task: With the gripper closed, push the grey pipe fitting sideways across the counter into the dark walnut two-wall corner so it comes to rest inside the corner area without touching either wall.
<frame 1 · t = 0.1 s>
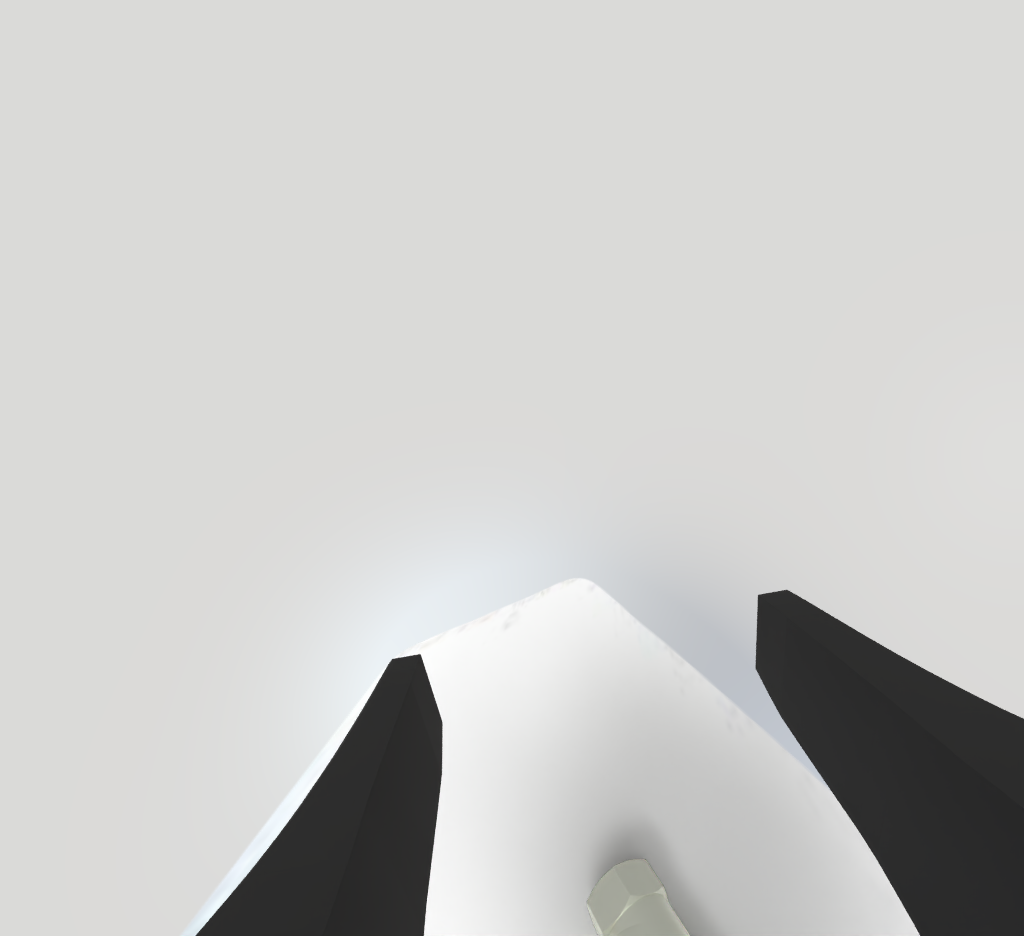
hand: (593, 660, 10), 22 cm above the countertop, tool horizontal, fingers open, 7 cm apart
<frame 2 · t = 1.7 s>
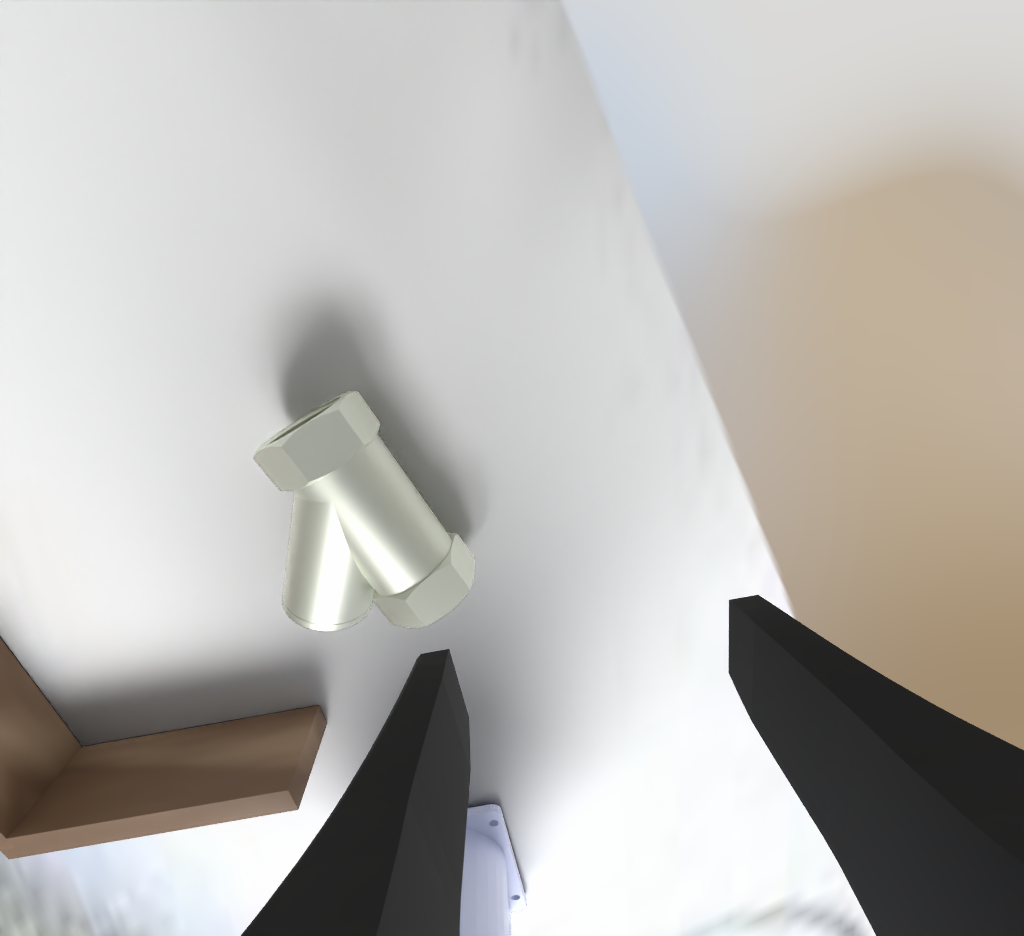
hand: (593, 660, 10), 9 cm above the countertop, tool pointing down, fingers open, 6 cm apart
pipe fitting: (352, 506, 20), on the countertop
corner arena: (76, 757, 23), on the countertop
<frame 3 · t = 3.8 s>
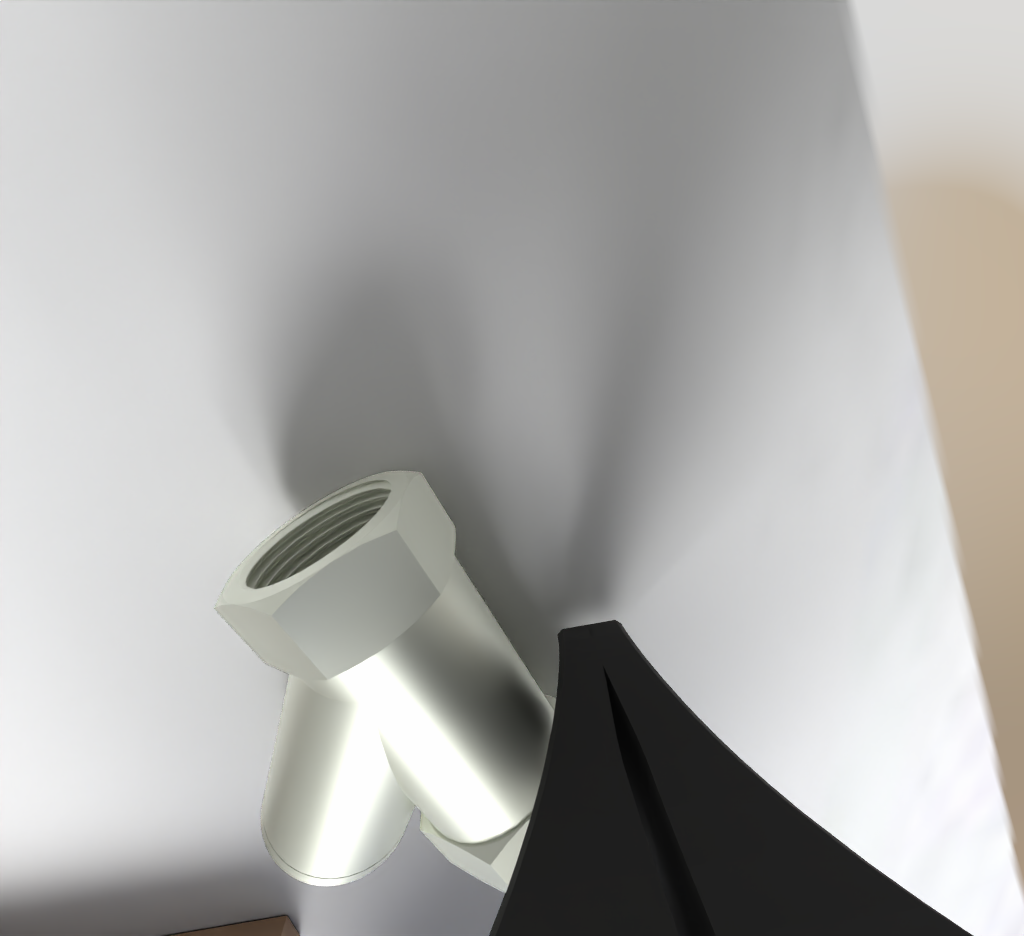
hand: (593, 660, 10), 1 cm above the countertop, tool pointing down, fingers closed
pipe fitting: (385, 639, 12), on the countertop, touching gripper
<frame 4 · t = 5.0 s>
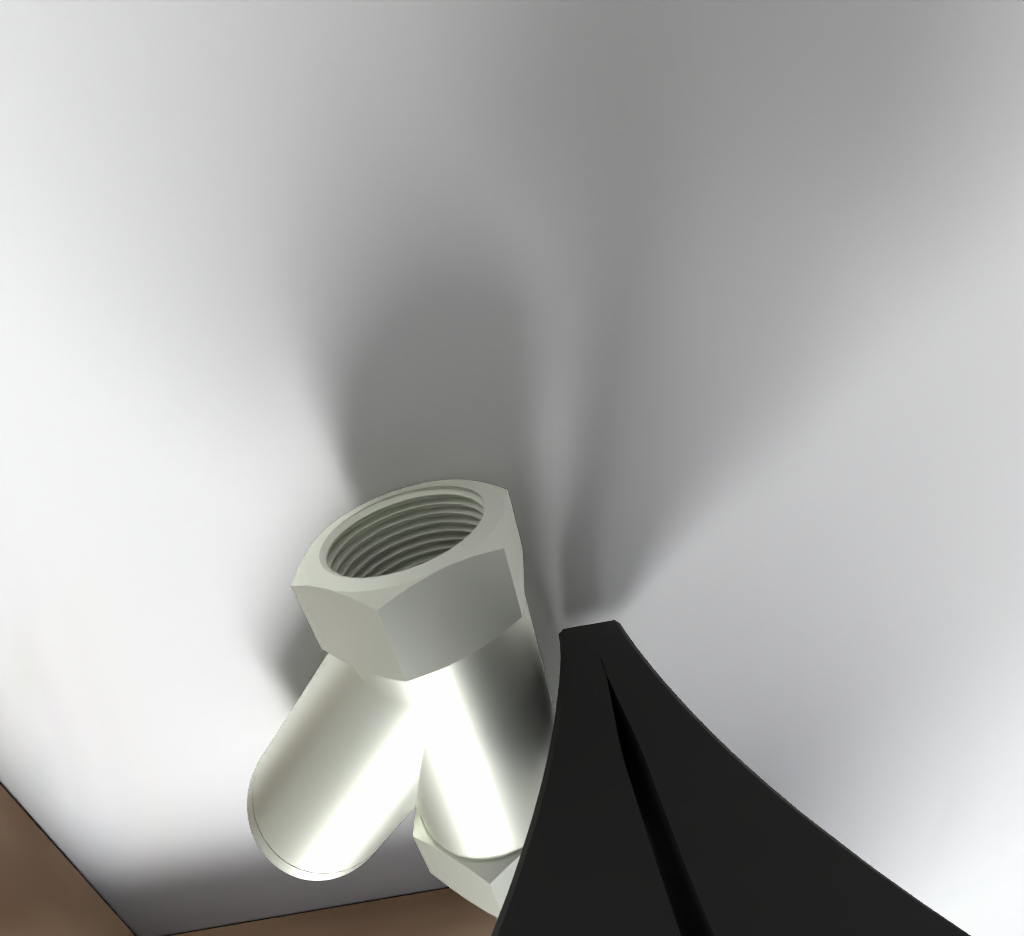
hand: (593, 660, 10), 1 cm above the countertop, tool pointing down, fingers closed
pipe fitting: (402, 637, 12), on the countertop, touching gripper
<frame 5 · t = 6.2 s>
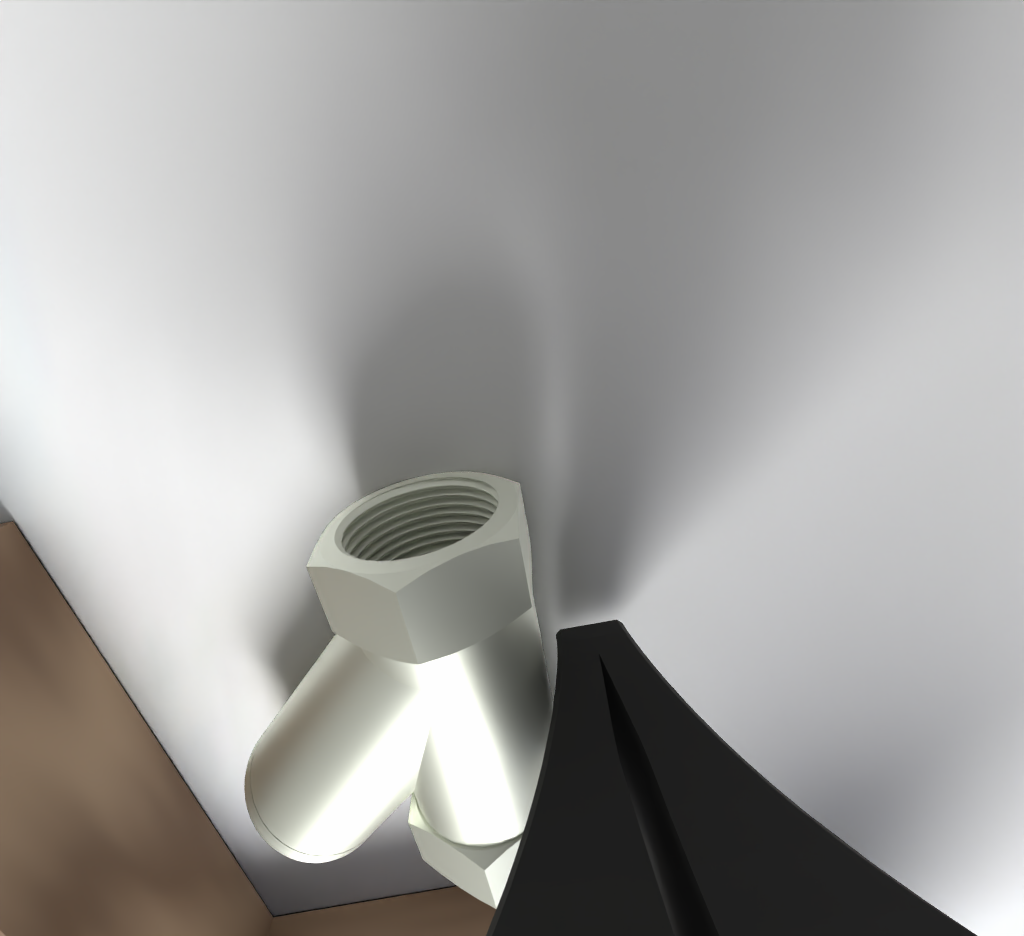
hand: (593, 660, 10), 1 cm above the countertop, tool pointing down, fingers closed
pipe fitting: (403, 627, 12), on the countertop
corner arena: (261, 930, 16), on the countertop
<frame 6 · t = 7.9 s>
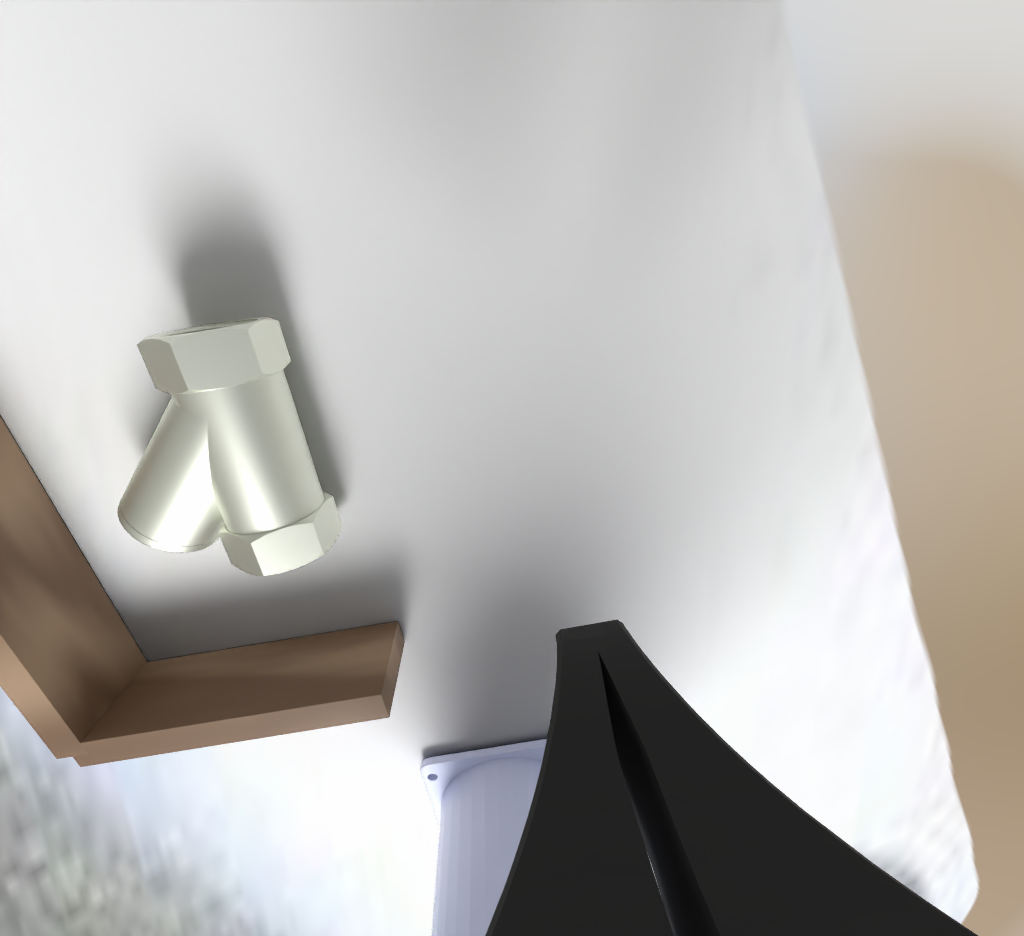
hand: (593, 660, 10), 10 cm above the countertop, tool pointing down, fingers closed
pipe fitting: (235, 433, 19), on the countertop
corner arena: (140, 673, 22), on the countertop
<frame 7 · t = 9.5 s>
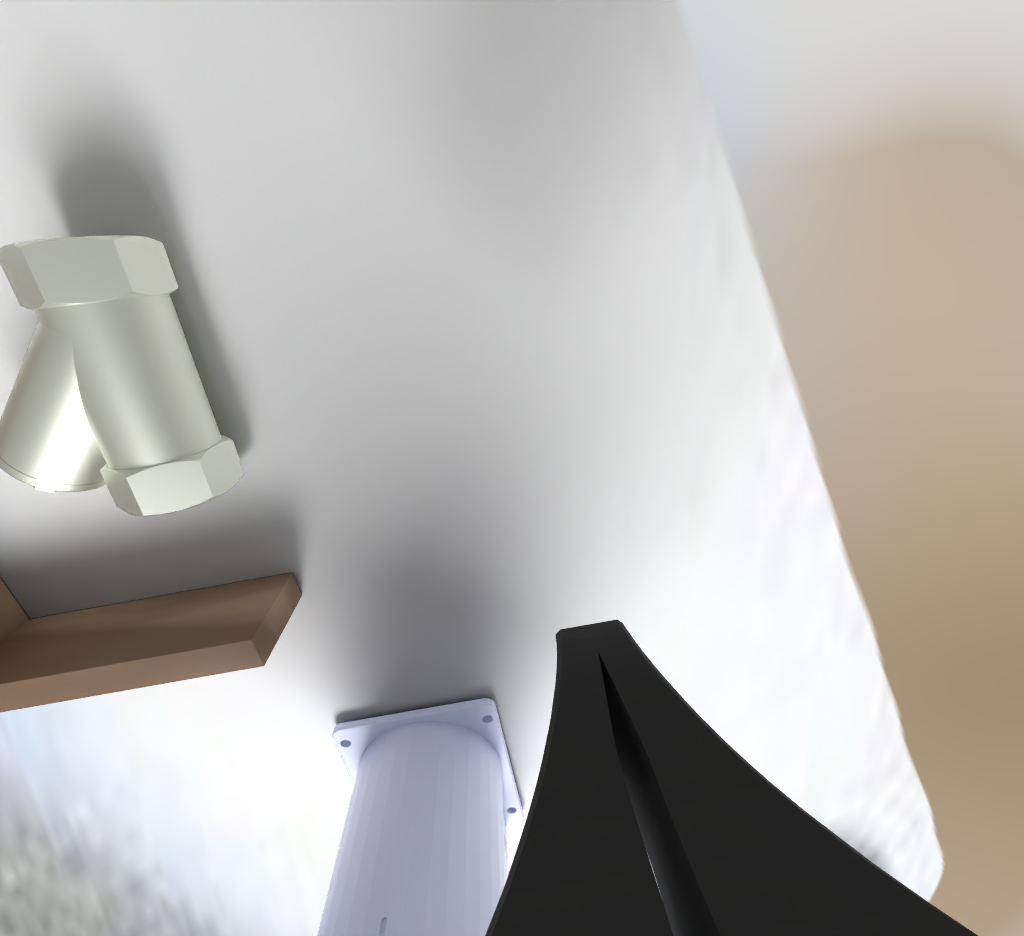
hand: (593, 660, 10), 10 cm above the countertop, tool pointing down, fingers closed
pipe fitting: (131, 372, 18), on the countertop
corner arena: (23, 632, 21), on the countertop
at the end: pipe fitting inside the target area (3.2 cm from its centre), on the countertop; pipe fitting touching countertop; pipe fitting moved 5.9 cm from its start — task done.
